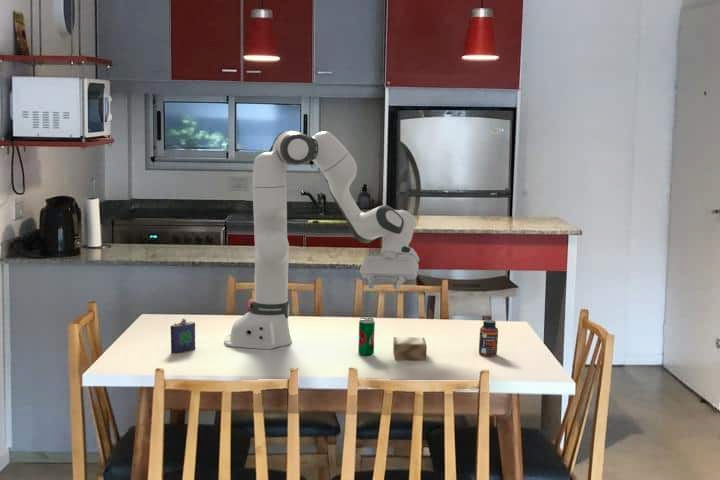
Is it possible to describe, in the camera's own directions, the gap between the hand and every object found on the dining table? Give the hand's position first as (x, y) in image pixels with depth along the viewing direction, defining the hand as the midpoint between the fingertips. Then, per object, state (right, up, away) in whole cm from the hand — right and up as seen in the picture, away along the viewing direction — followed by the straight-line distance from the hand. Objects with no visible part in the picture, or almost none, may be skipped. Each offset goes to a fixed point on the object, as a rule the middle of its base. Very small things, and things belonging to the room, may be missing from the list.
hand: (383, 288), depth 309 cm
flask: (-65, -20, -9) cm, 68 cm away
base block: (+8, -22, -9) cm, 25 cm away
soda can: (-6, -21, -8) cm, 24 cm away
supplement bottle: (+34, -22, -5) cm, 41 cm away
